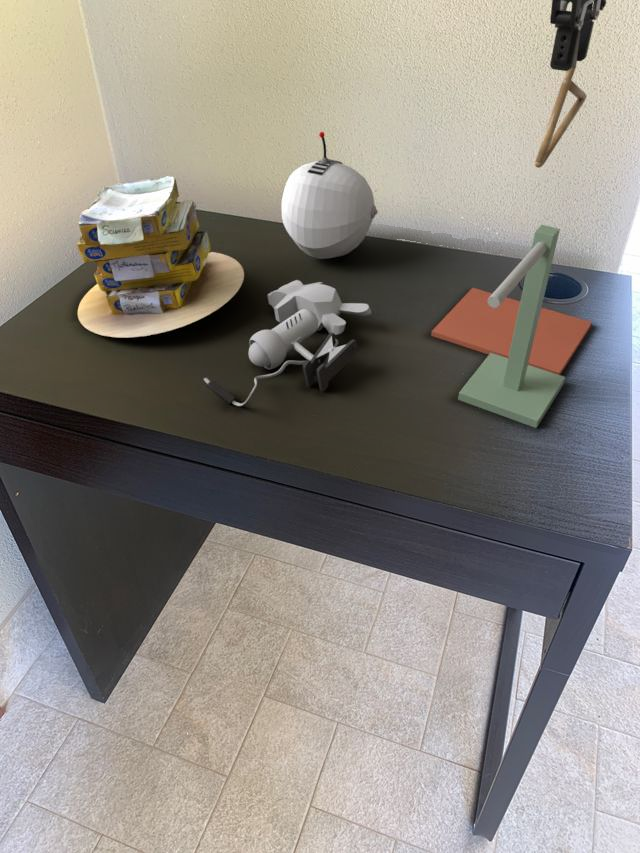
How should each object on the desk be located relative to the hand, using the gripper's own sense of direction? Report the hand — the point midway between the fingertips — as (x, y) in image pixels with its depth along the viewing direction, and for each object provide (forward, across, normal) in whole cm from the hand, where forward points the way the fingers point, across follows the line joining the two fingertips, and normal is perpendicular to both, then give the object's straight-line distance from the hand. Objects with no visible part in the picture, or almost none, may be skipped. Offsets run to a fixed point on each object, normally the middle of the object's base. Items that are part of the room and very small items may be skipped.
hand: (568, 63), depth 73 cm
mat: (+34, 0, 0) cm, 34 cm away
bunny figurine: (+34, -12, +25) cm, 44 cm away
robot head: (+34, +6, +34) cm, 49 cm away
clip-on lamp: (+34, -26, +21) cm, 48 cm away
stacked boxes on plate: (+34, -20, +47) cm, 62 cm away
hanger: (+8, +3, 0) cm, 9 cm away
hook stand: (+34, -17, -5) cm, 39 cm away
